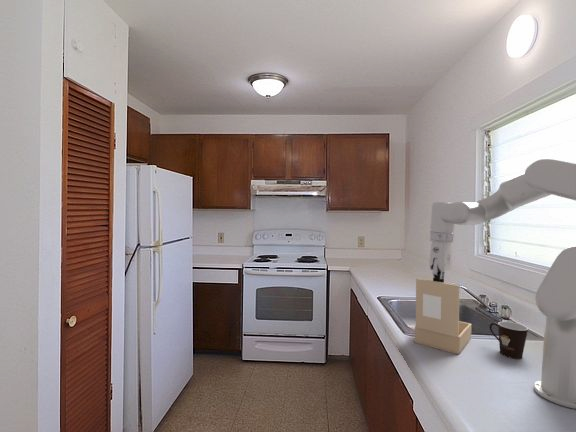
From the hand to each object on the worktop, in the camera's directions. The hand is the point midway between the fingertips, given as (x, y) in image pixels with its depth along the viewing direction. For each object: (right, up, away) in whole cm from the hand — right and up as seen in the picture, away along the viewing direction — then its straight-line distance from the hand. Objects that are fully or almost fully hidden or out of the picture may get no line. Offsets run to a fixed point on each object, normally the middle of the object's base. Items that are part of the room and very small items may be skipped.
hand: (437, 289), depth 121 cm
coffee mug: (+24, -22, -1) cm, 32 cm away
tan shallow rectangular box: (+5, -21, +7) cm, 22 cm away
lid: (-1, -6, -1) cm, 6 cm away
